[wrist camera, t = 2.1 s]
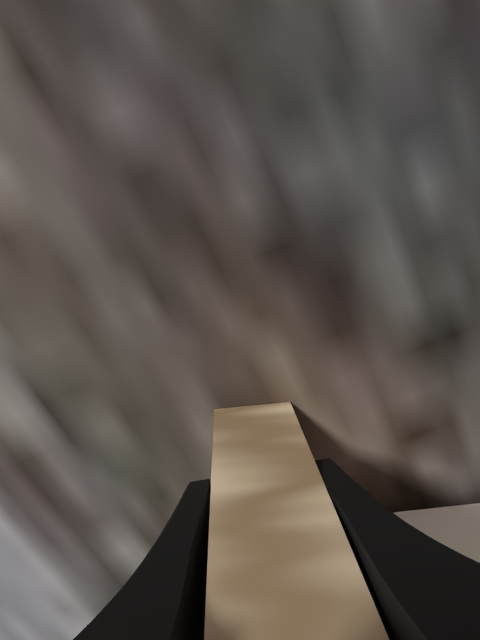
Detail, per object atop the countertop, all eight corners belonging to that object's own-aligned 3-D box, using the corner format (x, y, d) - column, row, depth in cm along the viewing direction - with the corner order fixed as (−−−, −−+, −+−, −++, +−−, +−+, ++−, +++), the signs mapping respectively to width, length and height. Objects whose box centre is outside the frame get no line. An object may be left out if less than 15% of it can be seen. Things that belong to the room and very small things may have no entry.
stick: (289, 401, 15) (422, 717, 5) (293, 469, 15) (417, 865, 6) (214, 409, 15) (199, 745, 5) (221, 476, 15) (220, 891, 6)
